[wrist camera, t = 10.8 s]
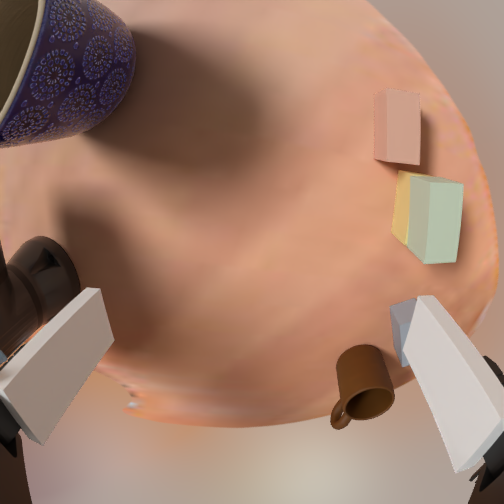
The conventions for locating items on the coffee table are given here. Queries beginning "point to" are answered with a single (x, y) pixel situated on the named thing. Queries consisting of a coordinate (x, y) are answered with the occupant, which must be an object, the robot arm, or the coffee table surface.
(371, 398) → the mug
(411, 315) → the slate brick
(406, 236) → the mustard brick
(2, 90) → the planter
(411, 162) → the terracotta brick
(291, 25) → the coffee table surface
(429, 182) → the sage brick
